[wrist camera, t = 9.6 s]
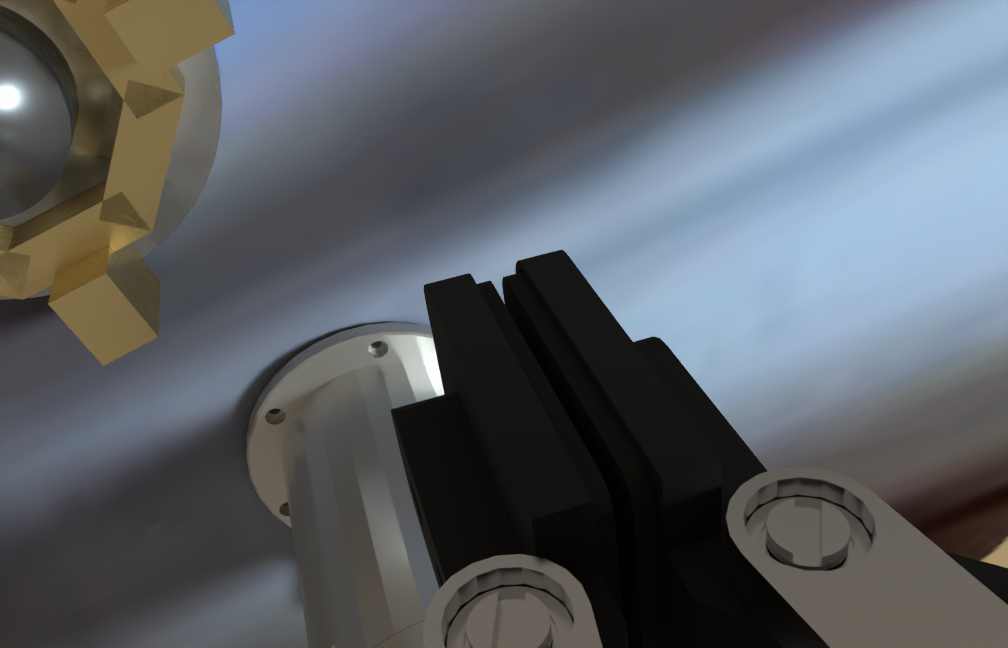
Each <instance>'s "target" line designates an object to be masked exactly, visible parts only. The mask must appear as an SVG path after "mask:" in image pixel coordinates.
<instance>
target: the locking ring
mask: <svg viewBox="0 0 1008 648" xmlns="http://www.w3.org/2000/svg"><path fill="white" fill-rule="evenodd" d="M53 1H54V3H55V4H56V5H57V7H58V8H59V10H60V11H61V12H62V14H63V15H64V17H65V18H66V20H67V21H68V22H69V24H70V25H71V27H72V28H73V29H74V31H75V32H76V34H77V35H78V36H79V38H80V39H81V41H82V42H83V43H84V45H85V46H86V48H87V49H88V51H89V52H90V53H91V55H92V56H93V58H94V59H95V60H96V62H97V63H98V65H99V66H100V67H101V69H102V70H103V72H104V73H105V74H106V76H107V77H108V79H109V80H110V82H111V83H112V84H113V86H114V87H115V89H116V90H117V91H118V93H119V94H120V96H121V97H122V98H123V102H122V107H121V111H120V116H119V121H118V126H117V130H116V135H115V140H114V145H113V150H112V154H111V159H110V164H109V169H108V173H107V178H106V180H104V181H102V182H100V183H98V184H96V185H94V186H92V187H90V188H88V189H87V190H85V191H83V192H81V193H79V194H77V195H75V196H73V197H71V198H69V199H68V200H66V201H64V202H62V203H60V204H58V205H56V206H54V207H52V208H50V209H49V210H47V211H45V212H43V213H41V214H39V215H37V216H35V217H33V218H31V219H30V220H28V221H26V222H24V223H22V224H20V225H18V226H16V227H14V226H9V225H4V224H0V296H4V297H10V298H16V299H22V300H24V299H25V298H27V297H29V296H31V295H33V294H35V293H37V292H39V291H41V290H43V289H44V288H46V287H48V286H50V285H52V289H51V293H50V297H49V302H48V305H49V306H50V307H51V308H52V309H53V310H54V311H55V312H56V313H57V315H58V316H59V317H60V318H61V319H62V320H63V321H64V322H65V324H66V325H67V326H68V327H69V328H70V329H71V330H72V331H73V332H74V334H75V335H76V336H77V337H78V338H79V339H80V340H81V341H82V343H83V344H84V345H85V346H86V347H87V348H88V349H89V350H90V351H91V353H92V354H93V355H94V356H95V357H96V358H97V359H98V360H99V362H100V363H101V364H102V365H103V366H104V365H106V364H108V363H110V362H112V361H114V360H116V359H117V358H119V357H121V356H123V355H125V354H127V353H129V352H131V351H133V350H135V349H136V348H138V347H140V346H142V345H144V344H146V343H148V342H150V341H152V340H153V339H155V338H157V337H158V332H159V302H160V280H159V279H158V278H157V276H156V275H155V274H154V273H153V271H152V270H151V269H150V268H149V266H148V265H147V264H146V262H145V261H144V260H143V259H142V257H141V256H140V255H139V254H138V252H137V251H136V250H135V248H134V247H133V246H132V245H131V243H132V242H134V241H136V240H137V239H139V238H141V237H143V236H145V235H147V234H149V233H151V232H152V231H153V227H154V223H155V219H156V215H157V211H158V206H159V202H160V198H161V194H162V189H163V185H164V181H165V177H166V173H167V168H168V164H169V160H170V156H171V151H172V147H173V143H174V139H175V135H176V130H177V126H178V122H179V118H180V113H181V109H182V105H183V101H184V97H185V77H184V75H183V74H182V72H181V71H180V69H179V67H178V66H177V64H178V63H180V62H182V61H184V60H186V59H188V58H190V57H192V56H194V55H195V54H197V53H199V52H201V51H203V50H205V49H207V48H209V47H211V46H213V45H214V44H216V43H218V42H220V41H222V40H224V39H226V38H228V37H230V36H232V35H234V34H235V31H234V26H233V21H232V15H231V10H230V5H229V1H228V0H53Z"/></svg>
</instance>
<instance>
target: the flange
mask: <svg viewBox="0 0 1008 648" xmlns="http://www.w3.org/2000/svg"><path fill="white" fill-rule="evenodd" d="M177 66H178V67H179V69H180V71H181V72H182V74H183V75H184V77H185V97H184V101H183V105H182V109H181V113H180V118H179V122H178V126H177V130H176V135H175V139H174V143H173V147H172V151H171V156H170V160H169V164H168V168H167V173H166V177H165V181H164V185H163V189H162V194H161V198H160V202H159V206H158V211H157V215H156V219H155V223H154V227H153V231H152V232H151V233H149V234H147V235H145V236H143V237H141V238H139V239H137V240H136V241H134V242H132V243H131V245H132V246H133V247H134V248H135V250H136V251H137V252H138V254H139V255H140V256H141V257H142V258H143V257H144V256H145V255H147V254H148V253H149V252H151V251H152V250H153V249H154V248H156V247H157V246H158V245H160V244H161V243H162V242H163V241H164V240H165V239H166V238H167V237H168V236H169V235H170V234H171V233H172V232H173V231H174V230H175V229H176V228H177V227H178V225H179V224H180V223H181V221H182V220H183V219H184V217H185V216H186V215H187V213H188V212H189V211H190V209H191V208H192V207H193V205H194V203H195V202H196V200H197V198H198V196H199V194H200V192H201V191H202V189H203V187H204V185H205V183H206V181H207V178H208V175H209V173H210V170H211V167H212V164H213V162H214V159H215V155H216V150H217V145H218V140H219V135H220V127H221V110H222V100H221V88H220V76H219V68H218V63H217V59H216V54H215V49H214V45H213V46H211V47H209V48H207V49H205V50H203V51H201V52H199V53H197V54H195V55H194V56H192V57H190V58H188V59H186V60H184V61H182V62H180V63H178V64H177ZM122 102H123V98H122V97H121V96H120V94H119V93H118V91H117V90H116V89H115V87H114V86H113V84H112V83H111V82H110V80H109V79H108V77H107V76H106V74H105V73H104V72H103V70H102V69H101V67H100V66H99V65H98V63H97V62H96V60H95V59H94V58H93V56H92V55H91V53H90V52H89V51H88V49H87V48H86V46H85V45H84V43H83V42H82V41H81V39H80V38H79V36H78V35H77V34H76V32H75V31H74V29H73V28H72V27H71V25H70V24H69V22H68V21H67V20H66V18H65V17H64V15H63V14H62V12H61V11H60V10H59V8H58V7H57V5H56V4H55V3H54V1H53V0H0V224H4V225H9V226H14V227H16V226H18V225H20V224H22V223H24V222H26V221H28V220H30V219H31V218H33V217H35V216H37V215H39V214H41V213H43V212H45V211H47V210H49V209H50V208H52V207H54V206H56V205H58V204H60V203H62V202H64V201H66V200H68V199H69V198H71V197H73V196H75V195H77V194H79V193H81V192H83V191H85V190H87V189H88V188H90V187H92V186H94V185H96V184H98V183H100V182H102V181H104V180H106V178H107V173H108V169H109V164H110V159H111V154H112V150H113V145H114V140H115V135H116V130H117V126H118V121H119V116H120V111H121V107H122ZM51 289H52V285H50V286H48V287H46V288H44V289H43V290H41V291H39V292H37V293H35V294H33V295H31V296H29V297H27V298H35V297H41V296H47V295H50V293H51ZM0 299H1V300H6V299H16V298H10V297H4V296H0Z"/></svg>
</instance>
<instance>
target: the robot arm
mask: <svg viewBox="0 0 1008 648" xmlns="http://www.w3.org/2000/svg"><path fill="white" fill-rule="evenodd" d="M502 286H503V294H504V301H505V304H504V303H503V301H502V299H501V297H500V296H499V294H498V292H497V290H496V289H495V287H494V285H493V283H492V282H491V281H487V282H483V283H479V284H476V282H475V281H474V279H473V277H472V276H471V274H465V275H461V276H457V277H453V278H449V279H445V280H441V281H437V282H433V283H429V284H426V285H424V294H425V300H426V305H427V310H428V315H429V320H430V325H431V327H430V326H426V325H422V324H413V323H399V322H390V323H380V324H370V325H364V326H361V327H357V328H353V329H349V330H345V331H342V332H339V333H337V334H334V335H332V336H330V337H328V338H325V339H323V340H321V341H319V342H316V343H315V344H313V345H312V346H310V347H308V348H307V349H305V350H304V351H302V352H301V353H299V354H298V355H296V356H295V357H293V358H292V359H291V360H290V361H289V362H288V363H287V364H286V365H285V366H284V367H283V368H281V369H280V370H279V371H278V372H277V373H276V374H275V375H274V376H273V378H272V379H271V380H270V382H269V383H268V384H267V386H266V387H265V389H264V390H263V391H262V393H261V394H260V396H259V398H258V400H257V402H256V405H255V407H254V409H253V411H252V413H251V416H250V420H249V425H248V430H247V435H246V452H247V463H248V469H249V475H250V480H251V482H252V484H253V486H254V489H255V491H256V493H257V495H258V497H259V499H260V500H261V501H262V502H263V504H264V505H265V506H266V507H267V509H268V510H269V511H270V513H271V514H273V515H274V516H275V517H276V518H278V519H279V520H280V521H281V522H283V523H284V524H285V525H286V526H288V527H290V528H292V534H293V541H294V548H295V555H296V562H297V569H298V576H299V583H300V590H301V597H302V604H303V611H304V618H305V625H306V632H307V639H308V646H309V648H1008V568H1004V567H1001V566H997V565H993V564H989V563H986V562H982V561H978V560H974V559H971V558H967V557H963V556H959V555H956V554H952V553H948V552H945V551H943V550H941V549H940V548H939V547H938V546H937V545H935V544H934V543H933V542H932V541H931V540H929V539H928V538H927V537H926V536H925V535H923V534H922V533H921V532H920V531H919V530H917V529H916V528H915V527H914V526H913V525H911V524H910V523H909V522H908V521H907V520H905V519H904V518H903V517H902V516H901V515H899V514H898V513H897V512H896V511H895V510H893V509H892V508H891V507H890V506H889V505H887V504H886V503H885V502H884V501H883V500H881V499H880V498H879V497H878V496H877V495H875V494H874V493H873V492H872V491H870V490H869V489H867V488H866V487H864V486H863V485H861V484H859V483H858V482H856V481H855V480H853V479H852V478H849V477H846V476H843V475H841V474H838V473H835V472H832V471H830V470H825V469H818V468H811V467H804V466H801V467H785V468H777V469H774V470H771V471H767V470H766V469H765V468H764V466H763V465H762V464H761V463H760V461H759V460H758V459H757V458H756V456H755V455H754V454H753V453H752V451H751V450H750V449H749V447H748V446H747V445H746V444H745V442H744V441H743V440H742V439H741V437H740V436H739V435H738V434H737V432H736V431H735V430H734V429H733V427H732V426H731V425H730V424H729V422H728V421H727V420H726V419H725V417H724V416H723V415H722V414H721V412H720V411H719V410H718V409H717V407H716V406H715V405H714V404H713V402H712V401H711V400H710V399H709V397H708V396H707V395H706V394H705V392H704V391H703V390H702V389H701V387H700V386H699V385H698V384H697V382H696V381H695V380H694V379H693V377H692V376H691V375H690V374H689V372H688V371H687V370H686V369H685V367H684V366H683V365H682V364H681V362H680V361H679V360H678V359H677V357H676V356H675V355H674V354H673V352H672V351H671V350H670V349H669V347H668V346H667V345H666V344H665V343H664V342H663V341H662V340H661V339H660V338H657V337H650V338H646V339H643V340H639V341H636V342H632V340H631V339H630V338H629V336H628V335H627V334H626V332H625V331H624V330H623V328H622V327H621V326H620V324H619V323H618V322H617V320H616V319H615V318H614V316H613V315H612V314H611V312H610V311H609V310H608V308H607V307H606V306H605V304H604V303H603V302H602V300H601V299H600V298H599V296H598V295H597V294H596V292H595V291H594V290H593V288H592V287H591V286H590V284H589V283H588V282H587V280H586V279H585V278H584V276H583V275H582V273H581V272H580V271H579V269H578V268H577V267H576V265H575V264H574V263H573V261H572V260H571V259H570V257H569V256H568V255H567V253H565V252H564V251H563V250H558V251H554V252H551V253H547V254H543V255H539V256H535V257H531V258H527V259H523V260H519V261H517V263H516V274H514V275H510V276H506V277H503V280H502ZM376 341H378V342H376ZM374 342H376V343H374Z"/></svg>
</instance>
